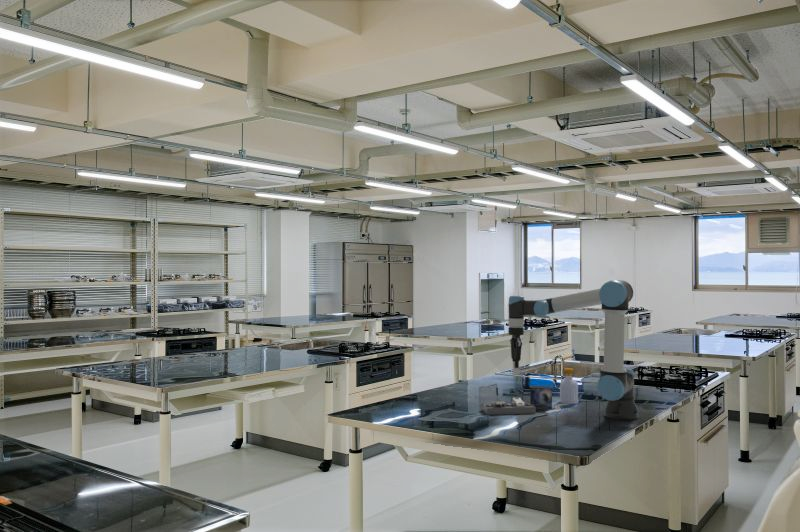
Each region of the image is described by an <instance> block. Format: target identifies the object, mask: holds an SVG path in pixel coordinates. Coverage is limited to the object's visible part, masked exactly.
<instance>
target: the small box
mask: <svg viewBox="0 0 800 532" xmlns="http://www.w3.org/2000/svg"><path fill="white" fill-rule="evenodd" d="M529 387H530V389H529V391H530V393H529V396H530V397H529V398H530V402H529V403H530V404H532V405H533V406H535V407H536V408H537V407H548V408H549V409H553V388H552V386H551V385H530V386H529ZM549 409H548V410H549Z"/></svg>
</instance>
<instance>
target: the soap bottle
mask: <svg viewBox="0 0 800 532" xmlns="http://www.w3.org/2000/svg"><path fill="white" fill-rule="evenodd" d="M572 357H573V356H572V355H568V356H565V357H563V358H562V368H563V370H564V371H565V372H566V373H565V378H564V379H563V380H561V381H560V383H559V402H560V403H561V404H565V405H577V404H578V403H579V384H578V382H577V381H576V380H574V379H573V374H572V373H571V372H572V371H574V368H572V367H570V368H569V367H568V368H566V367H565V360H568V359H570V358H572Z"/></svg>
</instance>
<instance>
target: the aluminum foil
mask: <svg viewBox="0 0 800 532" xmlns="http://www.w3.org/2000/svg"><path fill="white" fill-rule="evenodd" d="M592 377H593V378H600V373H597V372H596V373H595V372H593V373H592V374H591V378H592Z"/></svg>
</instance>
